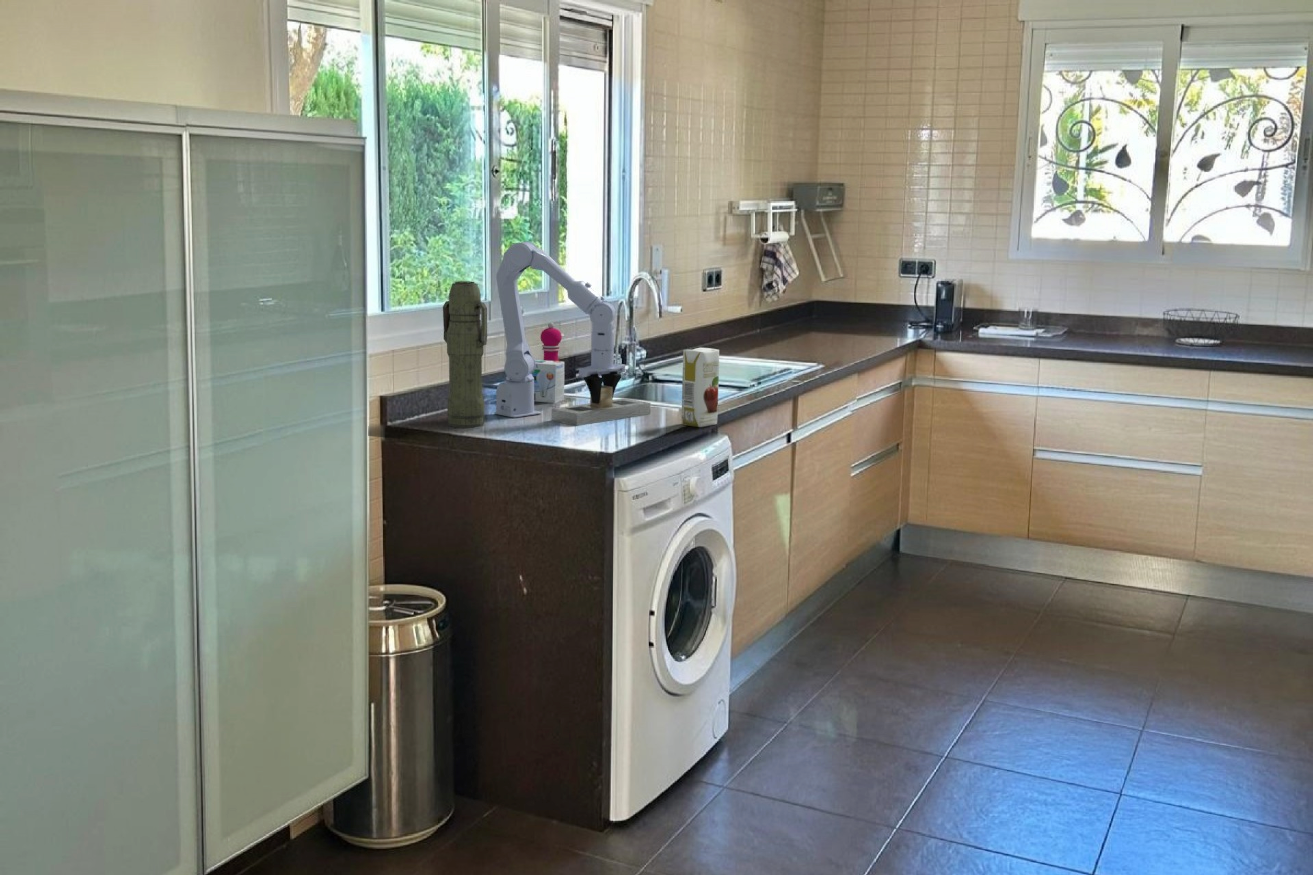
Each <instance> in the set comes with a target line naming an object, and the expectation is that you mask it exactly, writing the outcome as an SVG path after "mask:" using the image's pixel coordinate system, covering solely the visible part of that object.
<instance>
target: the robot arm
mask: <svg viewBox="0 0 1313 875" xmlns="http://www.w3.org/2000/svg"><path fill="white" fill-rule="evenodd" d="M502 256H503V257H502V260H501V263H500V265H499V267H498V269H497V272H496V274H495V275H496V277H495V278H496V285H497V291H498V297H499V302H500V308H501V309H500V310H501V316H502V322H503V328H504V336H505V342H506V348H505V359H506V360H505V364H504V372H505V375H506V377H505V380H504V381H502V382H500V383H498V385H497V386H496V387H497V388H496V392H495V394H496V395H495V396H496V400H495V402H496V410H495V411H494V414H496V415H500V416H505V417H509V418H520V417H527V416H534V415H541V414H542V411H538V410H535V401H534V377H533V376H532V374H531V373H532V372H533V371H534V369H535V366H536V363H535V360H536V359H535V357H534V356H533V355H532V353H531V350H530V345H529V344H528V341H527V338H526V337H527V336H526V329H525V324H524V318H523V312H522V307H521V301H520V299H521V298H520V293H519V287H518V279H519V278H520V277H521V276H522V274H523V273H524V272H525V270H527V269H528V268H529V269H532V270H537V271H538V270H539V271H542V272H544V273H546V275H547V276H549V277H550V278H551V279H553V281H555V282H556V283H557V284H558V285H560V286H561V287H562V288H563V289H564V290H566V291H567V292H566V293H567V298H568V299H569V300H570V301H571V302H572V303H573V304H574V305H575V306H577V307H578V308H579V309H580V310H581V311H583V313H585V314H586V315H588V316H589V320H590V321H591V325H592V326H591V330H592V331H591V349H590V350H591V353H590V354H591V355H590V356H591V358H590V360H591V361H590V366H586V367H583V368H579V369H578V377H581V378H583V380H584V382H585V384H586V386H587V388H588V392H589V394H590V395H591V399H592V403H596V404H599V402H600V393H601V386H602V385H604V386H610V387H613V395H612V400H614V394H615V391H616V388H617V386H618V384H619V381H621V378H622V374H621V373H626V364H623V363H618V364H617V363H616V364H614V363H615V362H614V361H615V360H614V359H615V357H614V355H615V331H614V328H615V326H614V321H615V317H616V313H617V312H616V308H615V306H614V305H613V304H612V302H610V301H609V300H608V301H607V300H606V298H605V297H604V296H603V295H602V296H600V294H598V293H597V292H596V291H595V290H594V289H592V284H591V283H590V282H585V281H583V280H578V281H577V280H575V279H574V277H572V276H571V275H570V274H569V273H568V272H566V270H565V269H564V268H563V267H562V266H560V265H559V263H558V262H556V261H555V260H554V259H553V258H552V257H551V256H550V255H549V254H547V252H546V251H544V250H543V249H542V248H540V247H537V245H536V244H535V243H534V242H532V241H527V240H526V241H525V240H524V241H521V242H516V243H515V242H514V243H513V244H511V245H510V246H509V247H508V248H507V249H506V250H505V251H504V252H503V255H502ZM599 375H600V376H599ZM590 395H589V396H590Z"/></svg>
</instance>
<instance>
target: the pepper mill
mask: <svg viewBox="0 0 1313 875" xmlns="http://www.w3.org/2000/svg"><path fill="white" fill-rule="evenodd" d="M562 337H563V336H562V333H561V331H560V330H559V329H557V328H555V324H554V323H553V322H548V325H547V328H545V329H543V330H542V331H541V334H540V341H541V343H542V346H541V347H542V349H541V350H542V351H543V359H542V360H545V361H560V359H559V351H560V349H561V348H560V347H561V346H560V343H561V341H562Z"/></svg>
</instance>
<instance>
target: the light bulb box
mask: <svg viewBox="0 0 1313 875" xmlns="http://www.w3.org/2000/svg"><path fill="white" fill-rule="evenodd" d="M535 363H536V366H535V369H534V371H533V372H532V373H531V374H532V376H533V377H534V402H538V403H551V404H556V403H557V404H558V403H560V402H561V401H564V400H565V361H561V360H559V361H545V360H543V359H535Z"/></svg>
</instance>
